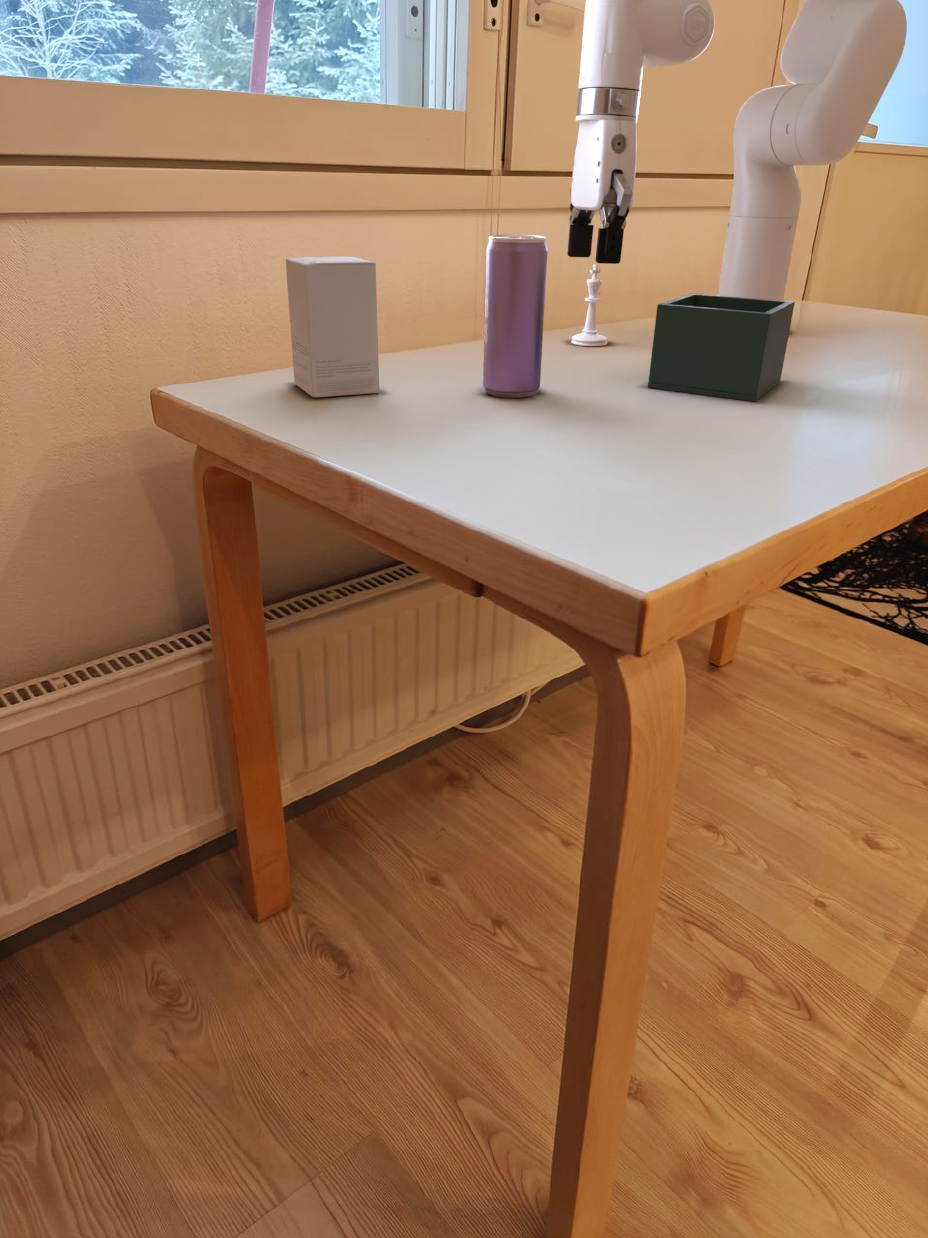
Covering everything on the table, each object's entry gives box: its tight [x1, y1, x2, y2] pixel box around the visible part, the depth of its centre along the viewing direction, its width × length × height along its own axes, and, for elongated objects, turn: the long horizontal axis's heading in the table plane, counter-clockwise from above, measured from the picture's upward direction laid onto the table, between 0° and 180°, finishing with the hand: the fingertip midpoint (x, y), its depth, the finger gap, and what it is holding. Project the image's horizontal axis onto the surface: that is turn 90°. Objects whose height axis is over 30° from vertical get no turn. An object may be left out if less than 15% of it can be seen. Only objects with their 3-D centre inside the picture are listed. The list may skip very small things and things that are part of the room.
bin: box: [647, 293, 796, 403], centre depth 94 cm, size 12×12×9 cm
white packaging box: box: [285, 256, 380, 398], centre depth 88 cm, size 7×7×13 cm
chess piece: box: [570, 263, 608, 347], centre depth 116 cm, size 5×5×10 cm
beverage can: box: [482, 234, 549, 399], centre depth 87 cm, size 6×6×15 cm
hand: (592, 259), depth 113 cm, fingers open, 9 cm apart
